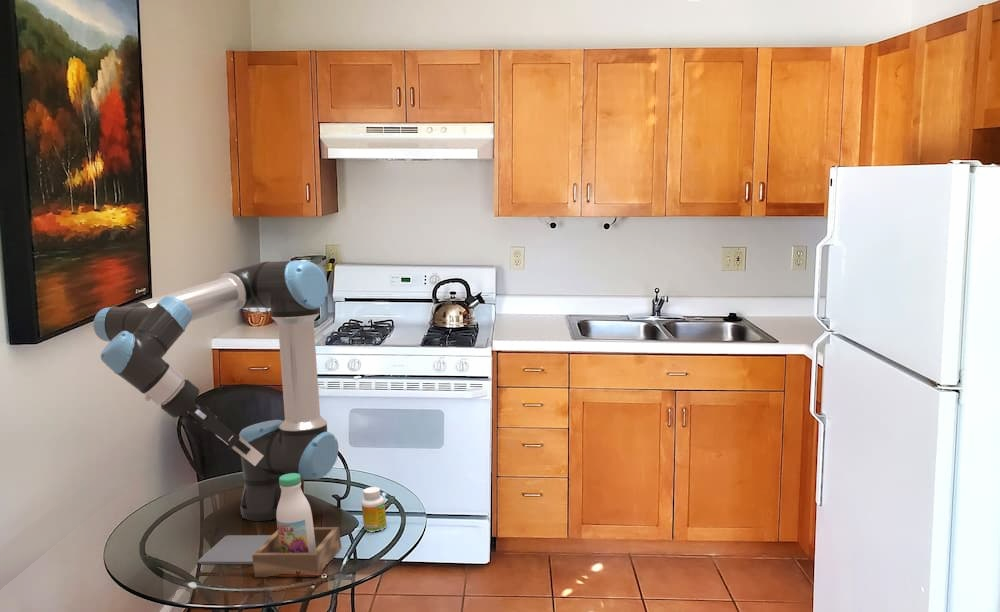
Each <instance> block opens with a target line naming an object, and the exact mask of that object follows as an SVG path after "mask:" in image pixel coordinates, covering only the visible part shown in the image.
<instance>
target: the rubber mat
mask: <svg viewBox="0 0 1000 612" xmlns="http://www.w3.org/2000/svg"><path fill="white" fill-rule="evenodd" d="M272 535H273V534H262V535H261V534H257V535H256V534H255V535H254V534H251V535H250V534H248V535H247V534H246V535H245V534H242V535H241V534H240V535H239V534H238V535H236V534H235V535H233V534H231V535H230V534H228V535H225V536H224V537H223V538H222V539H221V538H220V540H219V541H218V542H216V544H215V545H214V546H213V547H211V548H210V550H208V551H207V552H206V553H205V554H203V556H201V557H200V558H199V559H198V560H196V564H197V563H199V564H198V565H253V557H252V555H253V554H254V553H255V552H256V551H257V550H258V549H259V548H260V547H261V546H262V545H263V544H264V543H265V542H266V541H267V540H268V539H269V538H270V537H271V536H272Z"/></svg>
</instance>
